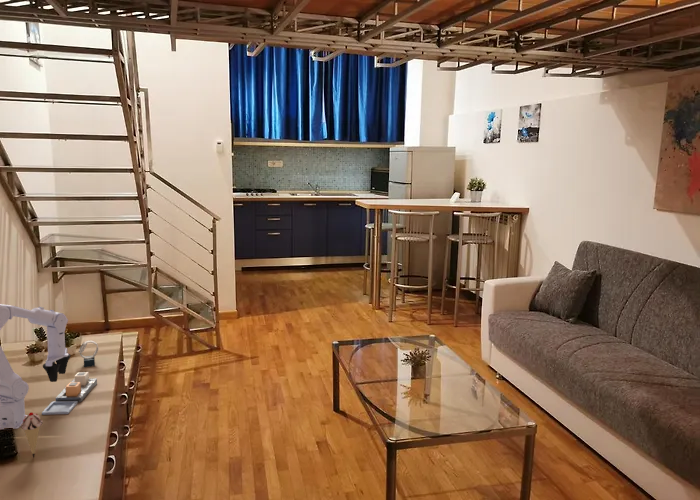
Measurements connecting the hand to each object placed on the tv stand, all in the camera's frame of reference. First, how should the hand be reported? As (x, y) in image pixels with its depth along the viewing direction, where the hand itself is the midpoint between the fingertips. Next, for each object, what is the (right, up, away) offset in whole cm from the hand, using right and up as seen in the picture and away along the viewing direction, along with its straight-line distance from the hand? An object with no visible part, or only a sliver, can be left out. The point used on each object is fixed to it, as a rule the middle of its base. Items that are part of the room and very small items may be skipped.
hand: (57, 377), depth 199 cm
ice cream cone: (+13, -16, -37) cm, 42 cm away
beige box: (+2, -8, +13) cm, 15 cm away
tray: (+4, -11, -5) cm, 13 cm away
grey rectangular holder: (+3, -8, +8) cm, 12 cm away
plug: (+4, -9, +4) cm, 11 cm away
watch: (-7, -4, +38) cm, 39 cm away
